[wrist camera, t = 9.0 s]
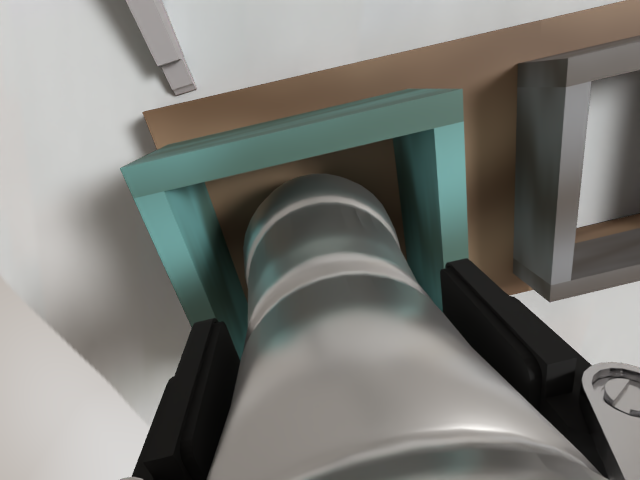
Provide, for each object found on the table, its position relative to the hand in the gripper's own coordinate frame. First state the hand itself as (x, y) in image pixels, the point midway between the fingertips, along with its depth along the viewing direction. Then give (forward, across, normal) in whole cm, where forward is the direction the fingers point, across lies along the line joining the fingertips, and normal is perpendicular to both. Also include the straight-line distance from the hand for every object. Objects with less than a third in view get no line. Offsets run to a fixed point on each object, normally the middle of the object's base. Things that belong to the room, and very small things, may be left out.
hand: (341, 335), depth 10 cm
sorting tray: (+10, -8, 0) cm, 13 cm away
